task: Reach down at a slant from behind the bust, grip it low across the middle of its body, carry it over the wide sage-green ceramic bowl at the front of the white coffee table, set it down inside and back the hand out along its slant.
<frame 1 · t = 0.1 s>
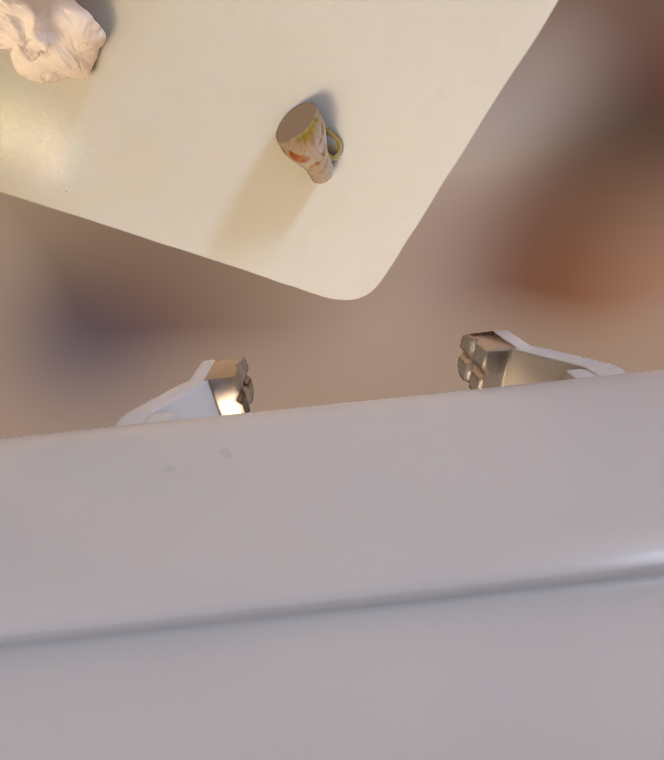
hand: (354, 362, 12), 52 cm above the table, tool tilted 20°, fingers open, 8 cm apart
mug: (311, 143, 48), on the table
bust: (65, 36, 38), on the table
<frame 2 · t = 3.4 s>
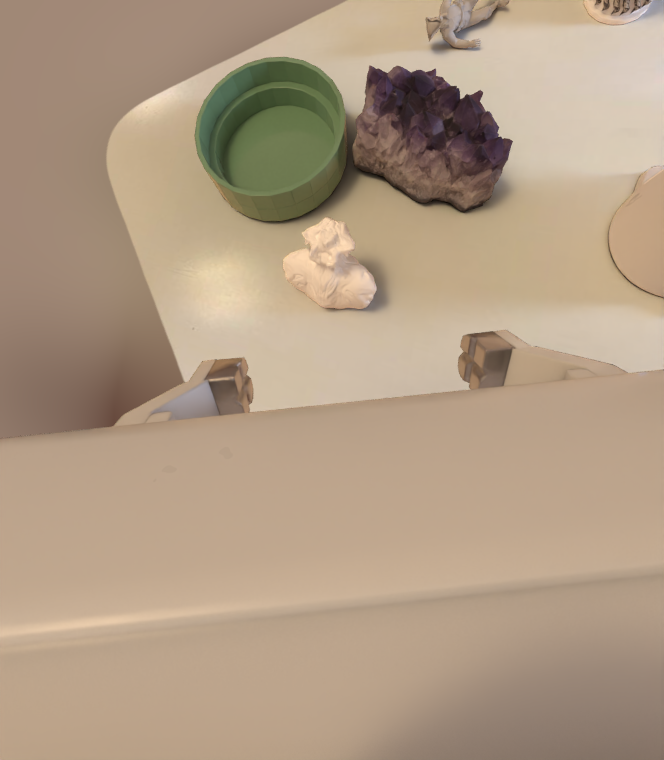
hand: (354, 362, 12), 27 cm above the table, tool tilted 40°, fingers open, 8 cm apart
bust: (333, 286, 41), on the table
geode: (422, 165, 42), on the table
grey figurine: (462, 29, 43), on the table
bowl: (280, 160, 44), on the table
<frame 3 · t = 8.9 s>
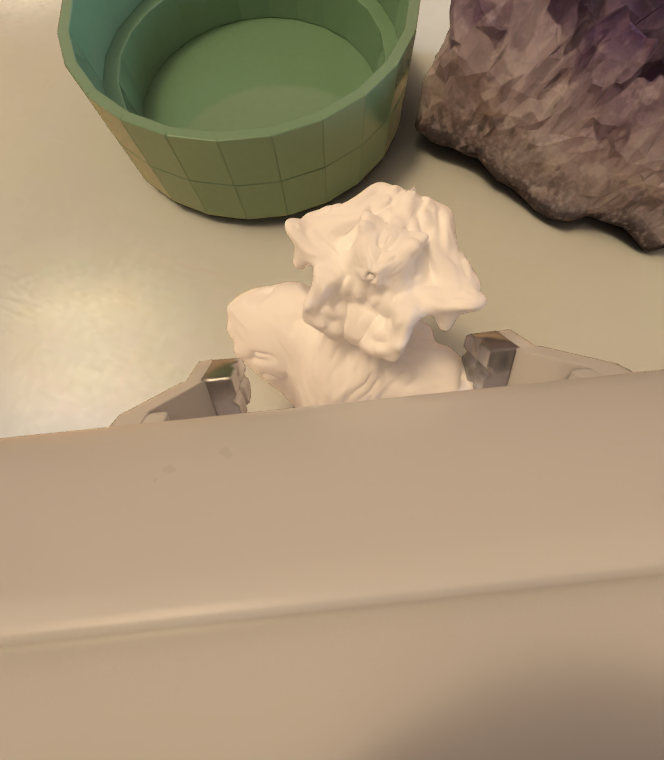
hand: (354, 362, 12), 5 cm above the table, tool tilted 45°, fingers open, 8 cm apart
bust: (350, 377, 17), on the table, touching gripper
geode: (549, 153, 21), on the table
bowl: (263, 109, 22), on the table
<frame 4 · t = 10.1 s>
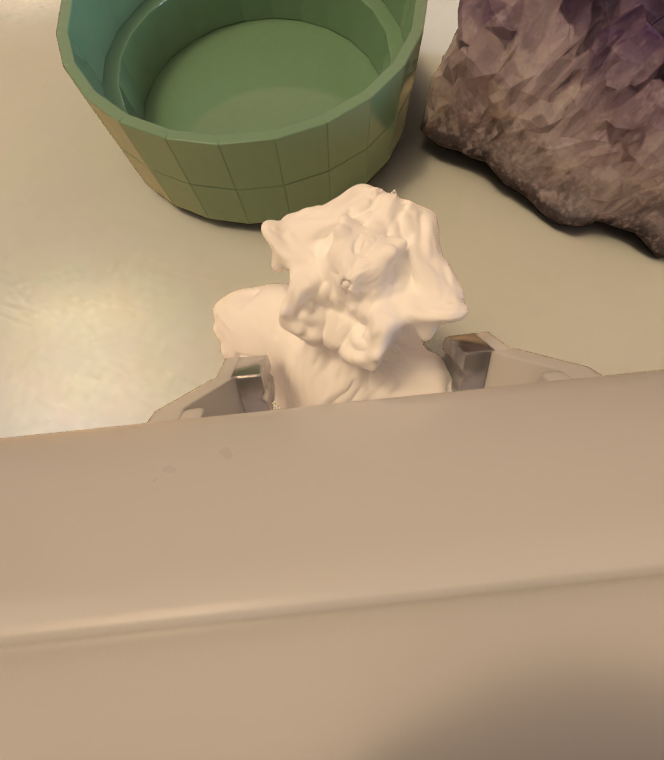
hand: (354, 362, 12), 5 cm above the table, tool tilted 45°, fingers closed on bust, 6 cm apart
bust: (341, 380, 17), on the table, touching gripper
geode: (557, 157, 20), on the table
bowl: (265, 112, 21), on the table
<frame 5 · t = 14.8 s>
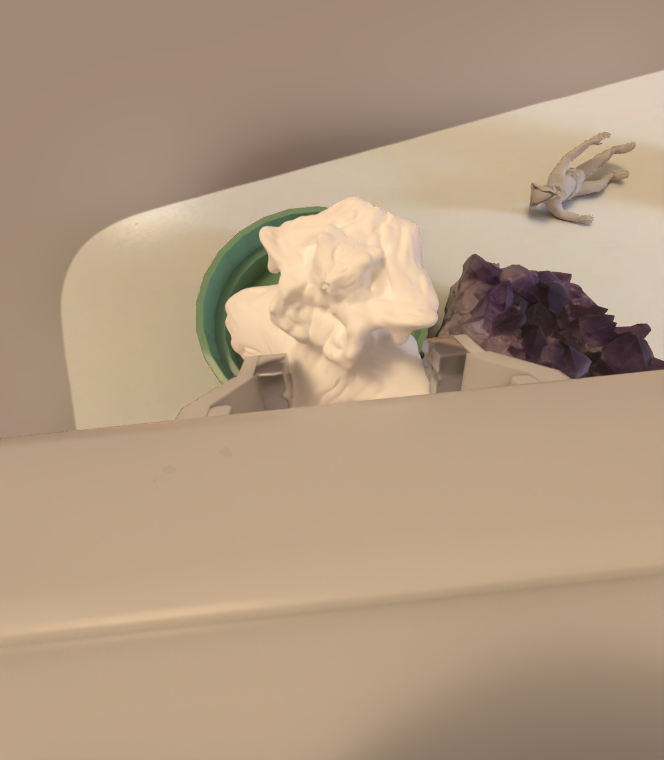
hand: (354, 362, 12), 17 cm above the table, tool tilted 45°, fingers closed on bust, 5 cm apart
bust: (344, 381, 18), point 11 cm above the table, touching gripper
geode: (518, 370, 29), on the table
grey figurine: (566, 196, 34), on the table
bowl: (316, 330, 31), on the table
when the fingers open (7 cm above the table, at t = 19.5 s): bust stays where it is, resting on bowl.
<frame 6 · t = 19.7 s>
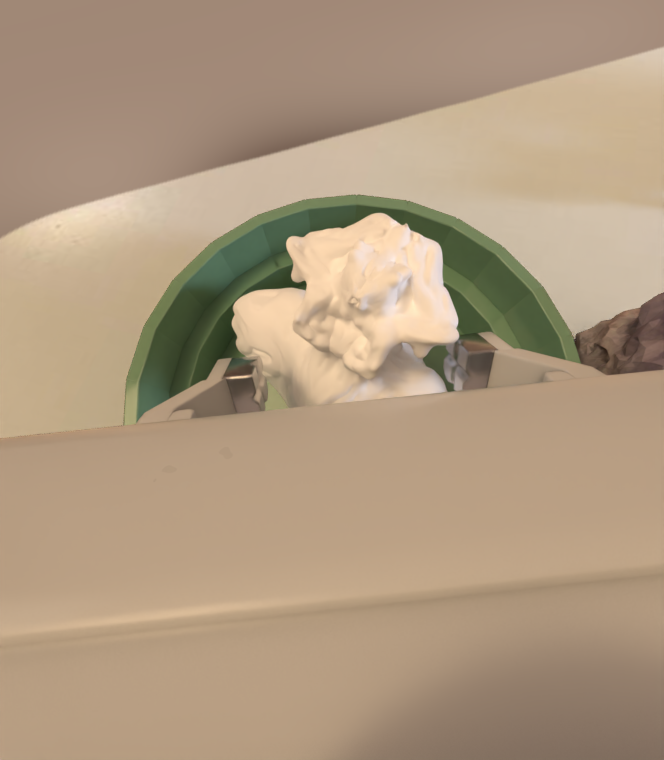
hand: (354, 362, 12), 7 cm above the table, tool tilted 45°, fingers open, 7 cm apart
bust: (344, 383, 18), resting on bowl
bowl: (349, 406, 18), on the table
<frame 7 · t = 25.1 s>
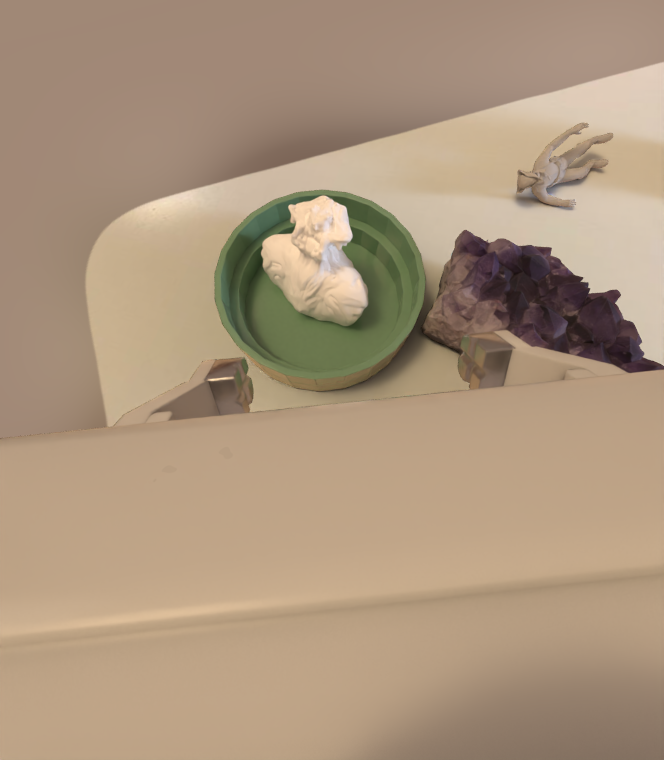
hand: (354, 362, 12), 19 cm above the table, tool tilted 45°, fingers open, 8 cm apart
bust: (319, 292, 33), resting on bowl
geode: (506, 340, 32), on the table
grey figurine: (550, 183, 37), on the table
bowl: (322, 305, 33), on the table
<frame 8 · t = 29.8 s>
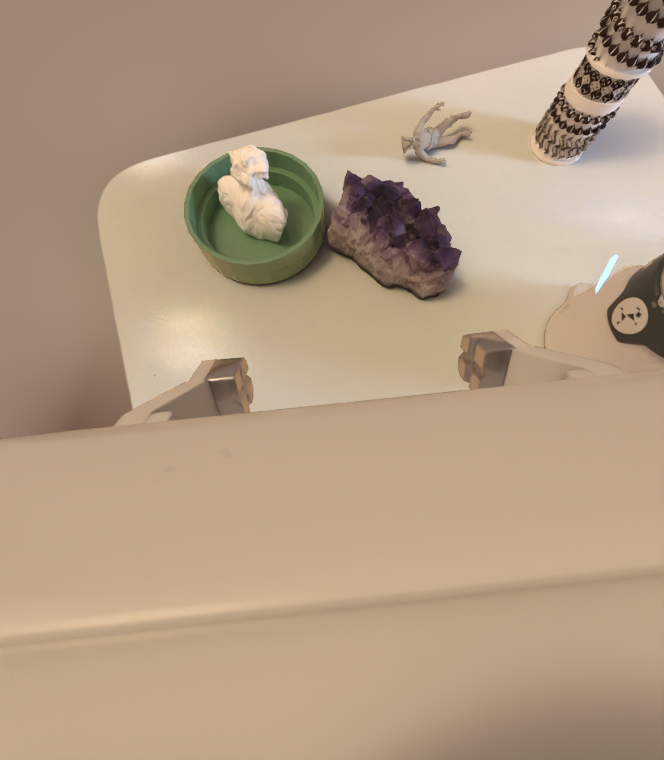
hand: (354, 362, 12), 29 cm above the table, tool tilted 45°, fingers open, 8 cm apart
bust: (261, 221, 47), resting on bowl
geode: (389, 253, 46), on the table
decorative candle: (554, 146, 51), on the table
grey figurine: (433, 148, 51), on the table
bowl: (263, 230, 47), on the table
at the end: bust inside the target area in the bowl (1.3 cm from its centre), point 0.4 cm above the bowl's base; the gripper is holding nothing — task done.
